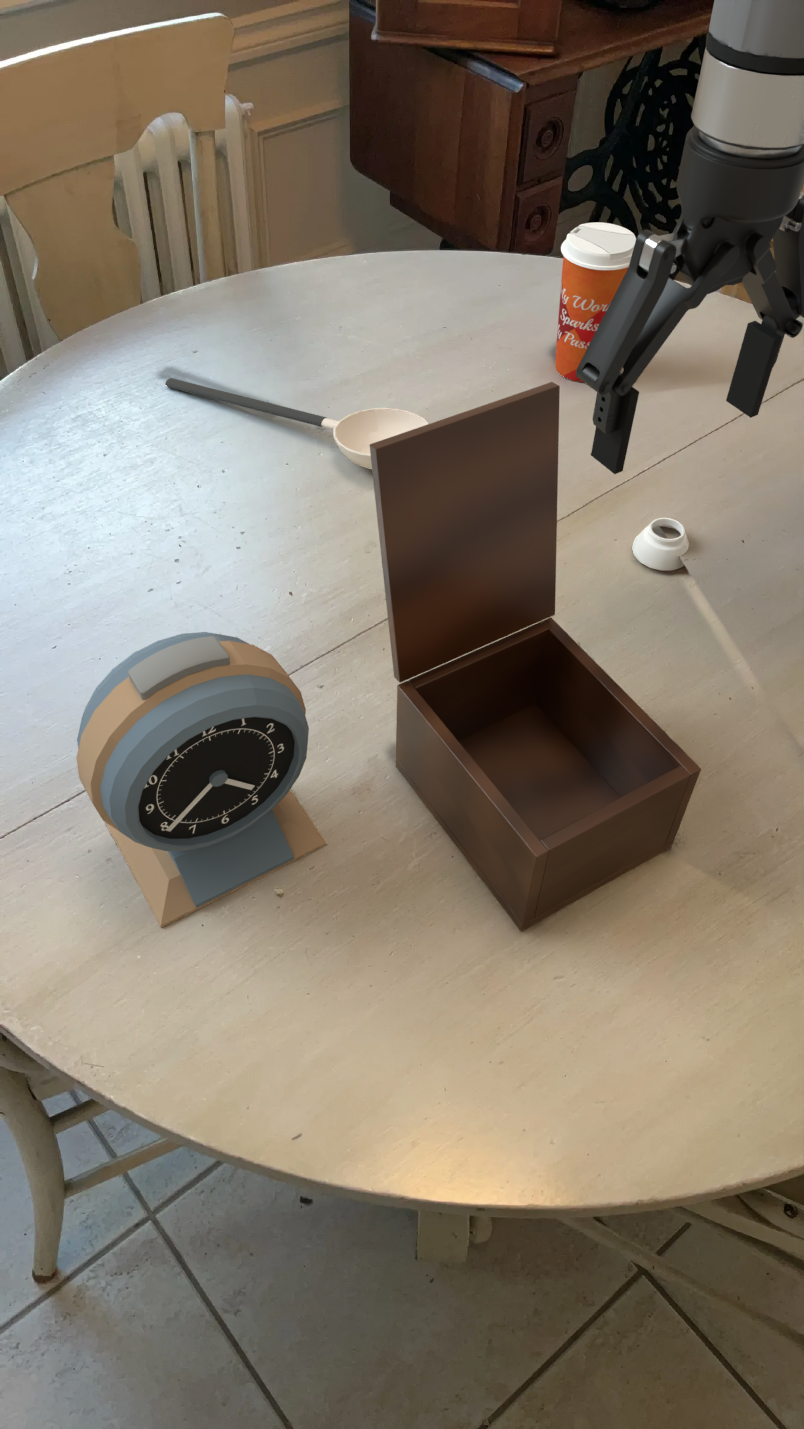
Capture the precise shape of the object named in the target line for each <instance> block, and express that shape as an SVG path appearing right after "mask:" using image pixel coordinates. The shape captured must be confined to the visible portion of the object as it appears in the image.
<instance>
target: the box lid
mask: <svg viewBox="0 0 804 1429" xmlns="http://www.w3.org/2000/svg"><path fill="white" fill-rule="evenodd" d="M560 389H561V387H560V385H559V384H557V383H555V382H553V381H550V382H547V383H544V384H541V385H539V386H536V387H532V388H530V389H527V390H523V391H521V392H518V393H515V394H513V395H509V396H507V397H504V398H501V399H497V400H495V401H492V402H488V403H486V404H482V405H481V406H478V407H477V406H476V407H475V408H471V409H469V410H465V411H462V412H460V413H457V414H454V415H452V416H449V417H446V418H442V419H439V420H437V421H434V422H431V423H429V424H428V425H425V426H422V427H419V428H416V429H413V430H410V431H407V432H404V433H401V434H399V435H396V436H393V437H390V438H387V439H384V440H381V441H378V442H375V443H372V444H370V454H371V464H372V469H371V474H372V480H373V481H372V482H373V492H374V500H375V508H376V509H375V512H376V519H377V528H378V538H379V548H380V557H381V565H382V576H383V585H384V595H385V604H386V614H387V622H388V631H389V632H388V633H389V642H390V650H391V652H390V653H391V661H392V662H391V663H392V671H393V678H394V679H395V680H397V681H398V683H399V684H401V683H403V682H405V681H409V680H410V679H412V678H414V677H416V676H419V675H421V674H423V673H425V672H428V671H430V670H432V669H435V668H437V667H439V666H441V665H444V664H446V663H448V662H450V661H453V660H455V659H457V658H460V657H462V656H464V655H466V654H469V653H471V652H473V651H475V650H478V649H480V648H482V647H485V646H487V645H489V644H491V643H494V642H496V641H498V640H500V639H503V638H505V637H507V636H510V635H512V634H514V633H516V632H519V631H521V630H523V629H525V628H528V627H530V626H532V625H534V624H537V623H539V622H542V621H544V620H546V619H548V618H550V617H551V618H552V617H553V616H555V615H556V588H557V586H556V585H557V584H556V582H557V539H558V536H557V534H558V492H559V490H558V486H559V485H558V484H559V438H560V437H559V436H560V435H559V432H560V394H561V393H560V391H561V390H560Z"/></svg>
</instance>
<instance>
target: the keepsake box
mask: <svg viewBox="0 0 804 1429" xmlns="http://www.w3.org/2000/svg"><path fill="white" fill-rule="evenodd" d="M396 689H397V690H396V723H395V724H396V728H395V731H396V732H395V733H396V735H395V736H396V737H395V767H396V769H397V770H398V771H399V774H401V775H402V777H403V778H404V779H405V781H406V782H407V783H408V785H409V786H410V787H411V788H412V790H413V791H414V793H415V794H416V795H417V796H418V798H419V799H420V801H421V802H422V803H423V805H424V806H425V807H426V809H427V810H428V811H429V813H430V814H431V815H432V816H433V818H434V819H435V820H436V822H437V823H438V824H439V825H440V826H441V828H442V830H443V831H444V832H445V833H446V835H447V836H448V837H449V839H450V840H451V842H452V843H453V844H454V845H455V847H456V848H457V850H459V852H460V853H461V854H462V856H463V857H464V858H465V860H466V862H468V863H469V865H470V866H471V868H472V869H473V870H474V872H475V873H476V874H477V876H479V878H480V880H481V881H482V883H483V884H484V885H485V886H486V887H487V889H488V890H489V891H490V893H491V895H493V897H494V898H495V899H496V901H497V902H498V903H499V904H500V906H501V907H502V908H503V910H504V911H505V913H506V914H507V915H508V916H509V918H510V919H511V920H512V922H513V923H514V924H515V926H516V927H517V928H518V929H519V931H520V932H521V933H522V932H524V931H525V930H527V929H529V928H531V927H532V926H534V925H536V924H538V923H539V922H542V921H543V920H545V919H548V918H549V917H550V916H553V915H554V914H556V913H557V912H559V911H561V910H562V909H565V908H567V907H568V906H570V905H572V904H574V903H575V902H578V901H579V900H580V899H583V898H585V897H586V896H587V895H589V894H591V893H593V892H595V891H596V890H599V889H601V888H602V887H604V886H605V885H607V884H609V883H611V882H612V881H614V880H616V879H618V878H620V877H621V876H624V875H625V874H627V873H629V872H630V871H632V870H634V869H636V868H638V867H639V866H641V865H643V864H645V863H647V862H648V861H650V860H651V859H654V858H655V857H657V856H659V855H660V854H663V853H664V852H666V851H668V850H670V849H672V848H673V845H674V842H675V840H676V837H677V836H678V835H677V834H678V832H679V829H680V827H681V824H682V821H683V819H684V817H685V813H686V811H687V809H688V806H689V803H690V801H691V798H692V795H693V793H694V790H695V787H696V784H697V783H698V780H699V778H700V774H701V771H702V768H701V767H700V766H699V764H698V763H697V762H695V761H694V760H693V759H692V758H691V756H689V754H687V752H686V751H685V750H684V749H683V748H682V747H681V746H679V744H678V743H677V742H676V741H674V739H673V738H672V737H671V736H670V735H669V734H668V733H667V732H666V731H665V730H664V729H663V728H661V726H660V725H659V724H658V723H657V722H655V720H654V719H653V718H652V717H651V716H650V715H649V714H648V713H647V712H646V711H645V710H644V709H643V708H642V707H641V706H640V705H639V704H638V703H637V702H636V701H635V700H634V699H633V698H632V697H631V696H630V695H629V694H628V693H627V692H626V691H625V690H624V689H623V688H622V687H621V686H620V685H619V684H618V683H617V682H616V681H615V680H614V679H613V678H612V677H611V676H610V675H609V674H608V673H607V672H606V671H605V670H604V669H603V668H602V667H601V666H600V665H599V664H598V663H597V662H596V661H595V659H593V658H592V657H591V656H590V655H589V654H588V652H586V651H585V650H584V649H583V648H582V647H581V646H580V645H579V643H578V642H576V641H575V639H573V637H571V635H570V634H568V633H567V632H566V631H565V629H564V628H563V627H562V626H560V624H558V622H556V620H554V618H552V616H551V617H548V618H546V619H544V620H542V621H539V622H537V623H535V624H533V625H530V626H528V627H526V628H523V629H521V630H519V631H517V632H514V633H512V634H510V635H508V636H505V637H503V638H501V639H498V640H496V641H494V642H492V643H489V644H487V645H485V646H483V647H480V648H478V649H476V650H473V651H471V652H469V653H467V654H464V655H462V656H460V657H458V658H455V659H453V660H451V661H448V662H446V663H444V664H442V665H439V666H437V667H435V668H433V669H430V670H428V671H426V672H423V673H421V674H419V675H417V676H414V677H412V678H410V679H408V680H405V681H403V682H401V683H398V684H397V685H396Z"/></svg>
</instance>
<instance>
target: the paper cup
mask: <svg viewBox="0 0 804 1429" xmlns="http://www.w3.org/2000/svg"><path fill="white" fill-rule="evenodd" d="M636 239H637V236H636V235H635V233H634V232H632V231H631V230H629V228H626V227H624V226H621V225H618V224H614V223H609V222H600V221H599V222H597V221H596V222H585V223H581V224H578V226H576V227H574V228H573V229H572V230H570V231H569V233H567V234H566V238H565V239H564V240H563V242H562V243H561V245H560V252H561V255H562V267H561V268H562V269H561V282H560V295H559V304H558V305H559V306H558V320H557V333H556V346H555V371H556V372H557V374H559V373H560V374H559V375H560V376H561V375H562V376H561V377H563V376H564V377H565V378H564V377H563V378H564V379H566V378H568V379H567V380H569V379H571V380H573V381H572V382H575V381H580V382H579V383H584V382H583V381H582V380H580V379H579V378H578V377H577V376H576V370H577V368H578V366H579V364H580V362H581V360H582V358H583V356H584V354H585V352H586V350H587V348H588V346H589V344H590V342H591V340H592V338H593V336H594V334H595V332H596V330H597V329H598V327H599V325H600V323H601V321H602V319H603V317H604V315H605V313H606V311H607V309H608V307H609V305H610V303H611V301H612V299H613V297H614V295H615V293H616V291H617V289H618V287H619V285H620V283H621V281H622V279H623V277H624V276H625V274H626V272H627V270H628V268H629V264H630V260H631V257H632V253H633V249H634V245H635V242H636ZM571 380H570V381H571Z"/></svg>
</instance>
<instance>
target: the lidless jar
mask: <svg viewBox="0 0 804 1429" xmlns="http://www.w3.org/2000/svg"><path fill="white" fill-rule="evenodd" d="M662 527H663V528H664V527H665V528H669V529H672V530H674V531H677V532H678V533H679V534H680V535H679V536H678V537H674V538H668V537H667V535H666V534H665V533H664V530H663V529H662ZM689 548H690V542H689V539H688V535H687V534H686V530H685V527H684V525H683V524H682V523H681V522H679V521H678V520H676V519H673V518H670V517H658V518H655V519H653V520H651V522H650V523H649V524H648V525H647V526H646V527H645V528H644V529H642V530H641V531H640V532H639V534H637V535H636V537H635V538H634V539H633V542H632V545H631V549H632V553H633V556H634V557H635V558H636V560H637V561H638V562H639V563H640V564H643V565H644V566H646V567H648V568H650V569H654V570H658V571H676V570H678V569H681V568H683V567H684V566H685V563H684V562H683V561H682V558H681V557H682V556H683V555H685V554H686V552H688V550H689Z"/></svg>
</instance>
